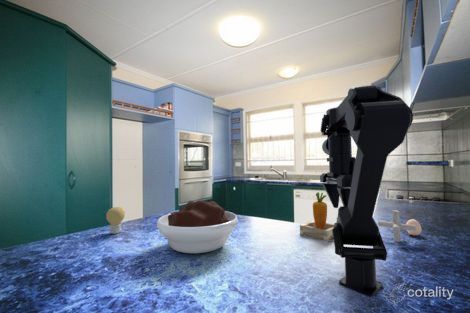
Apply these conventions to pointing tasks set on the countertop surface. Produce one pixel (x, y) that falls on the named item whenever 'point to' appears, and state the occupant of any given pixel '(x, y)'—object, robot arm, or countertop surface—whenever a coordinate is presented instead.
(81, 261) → the countertop surface
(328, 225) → the socket block
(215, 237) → the bowl of chocolate chunks
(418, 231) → the egg
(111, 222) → the light bulb
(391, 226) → the pipe connector
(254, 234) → the countertop surface
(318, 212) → the carrot
